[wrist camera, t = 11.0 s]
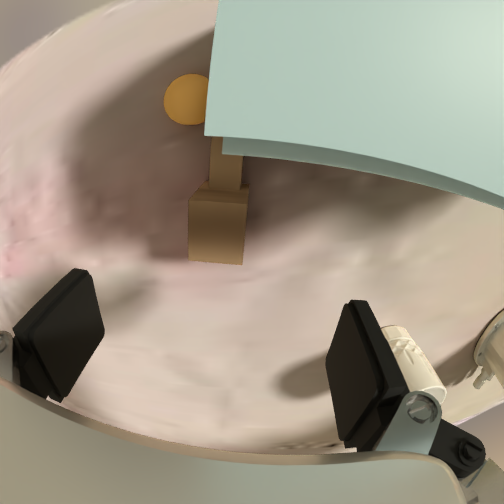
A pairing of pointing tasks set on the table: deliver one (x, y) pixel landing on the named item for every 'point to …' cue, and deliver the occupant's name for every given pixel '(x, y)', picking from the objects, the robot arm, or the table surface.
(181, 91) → the orange round disc
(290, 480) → the robot arm
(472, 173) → the cabinet
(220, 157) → the brown boxy piece
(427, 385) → the white cup
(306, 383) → the table surface
